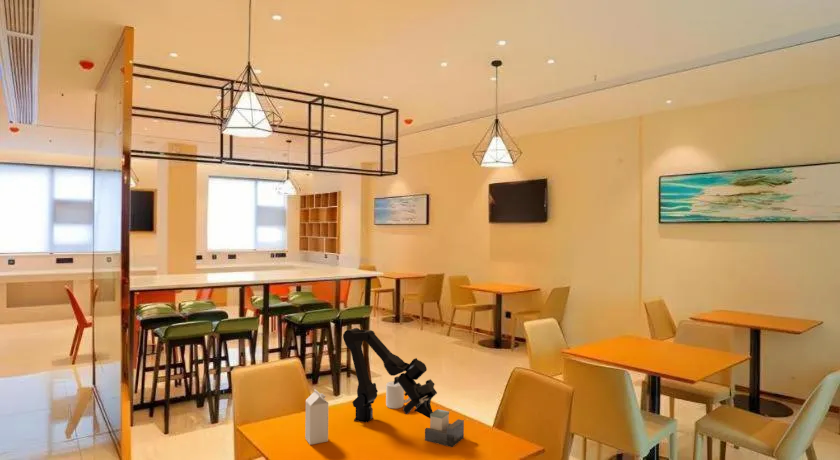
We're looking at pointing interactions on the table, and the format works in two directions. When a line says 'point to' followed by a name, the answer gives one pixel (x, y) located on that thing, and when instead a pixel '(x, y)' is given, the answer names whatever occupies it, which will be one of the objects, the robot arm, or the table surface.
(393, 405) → the mug
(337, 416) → the table surface
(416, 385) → the robot arm
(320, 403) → the milk carton
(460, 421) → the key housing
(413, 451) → the table surface
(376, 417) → the table surface
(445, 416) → the plunger key
